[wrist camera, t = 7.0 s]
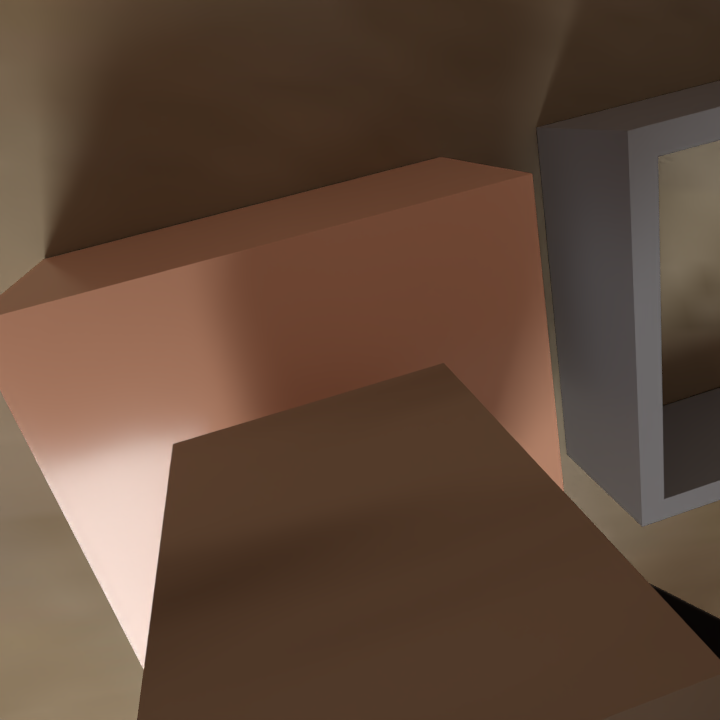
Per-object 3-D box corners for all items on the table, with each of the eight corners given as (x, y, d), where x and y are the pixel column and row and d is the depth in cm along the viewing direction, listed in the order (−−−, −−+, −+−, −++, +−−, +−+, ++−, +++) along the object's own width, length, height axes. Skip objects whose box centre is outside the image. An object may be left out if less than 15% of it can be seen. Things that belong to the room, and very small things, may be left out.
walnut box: (488, 612, 11) (731, 1051, 6) (271, 688, 11) (324, 1241, 5) (443, 362, 9) (754, 696, 4) (173, 443, 9) (106, 947, 3)
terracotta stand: (490, 476, 18) (573, 583, 14) (182, 576, 17) (172, 724, 13) (440, 156, 14) (532, 173, 10) (43, 259, 13) (-34, 323, 9)
